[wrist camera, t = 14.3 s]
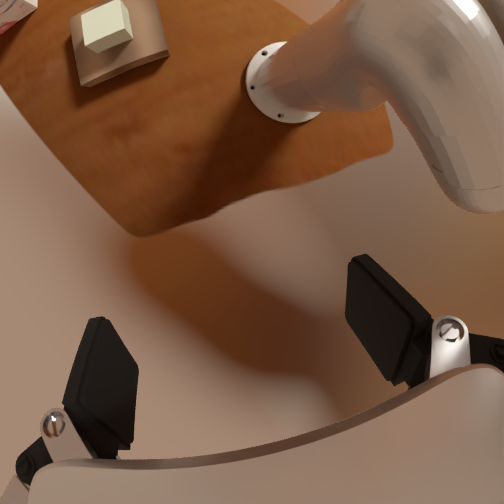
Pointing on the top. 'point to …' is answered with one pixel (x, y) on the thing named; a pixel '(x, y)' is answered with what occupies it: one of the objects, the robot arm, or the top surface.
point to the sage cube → (106, 26)
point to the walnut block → (121, 44)
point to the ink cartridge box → (14, 12)
